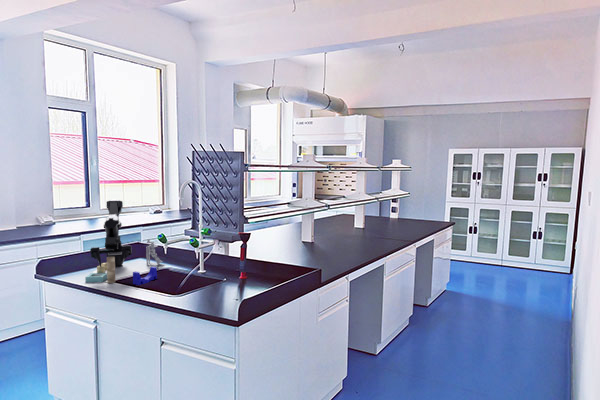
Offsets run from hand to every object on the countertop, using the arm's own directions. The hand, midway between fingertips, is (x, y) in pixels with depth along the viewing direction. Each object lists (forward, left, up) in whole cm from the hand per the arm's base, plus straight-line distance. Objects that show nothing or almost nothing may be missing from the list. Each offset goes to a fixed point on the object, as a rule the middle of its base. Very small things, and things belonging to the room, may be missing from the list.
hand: (111, 265), depth 196 cm
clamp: (-28, -20, -8) cm, 35 cm away
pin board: (+2, -12, -8) cm, 15 cm away
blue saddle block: (-14, +9, -9) cm, 19 cm away
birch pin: (0, 0, -8) cm, 8 cm away
